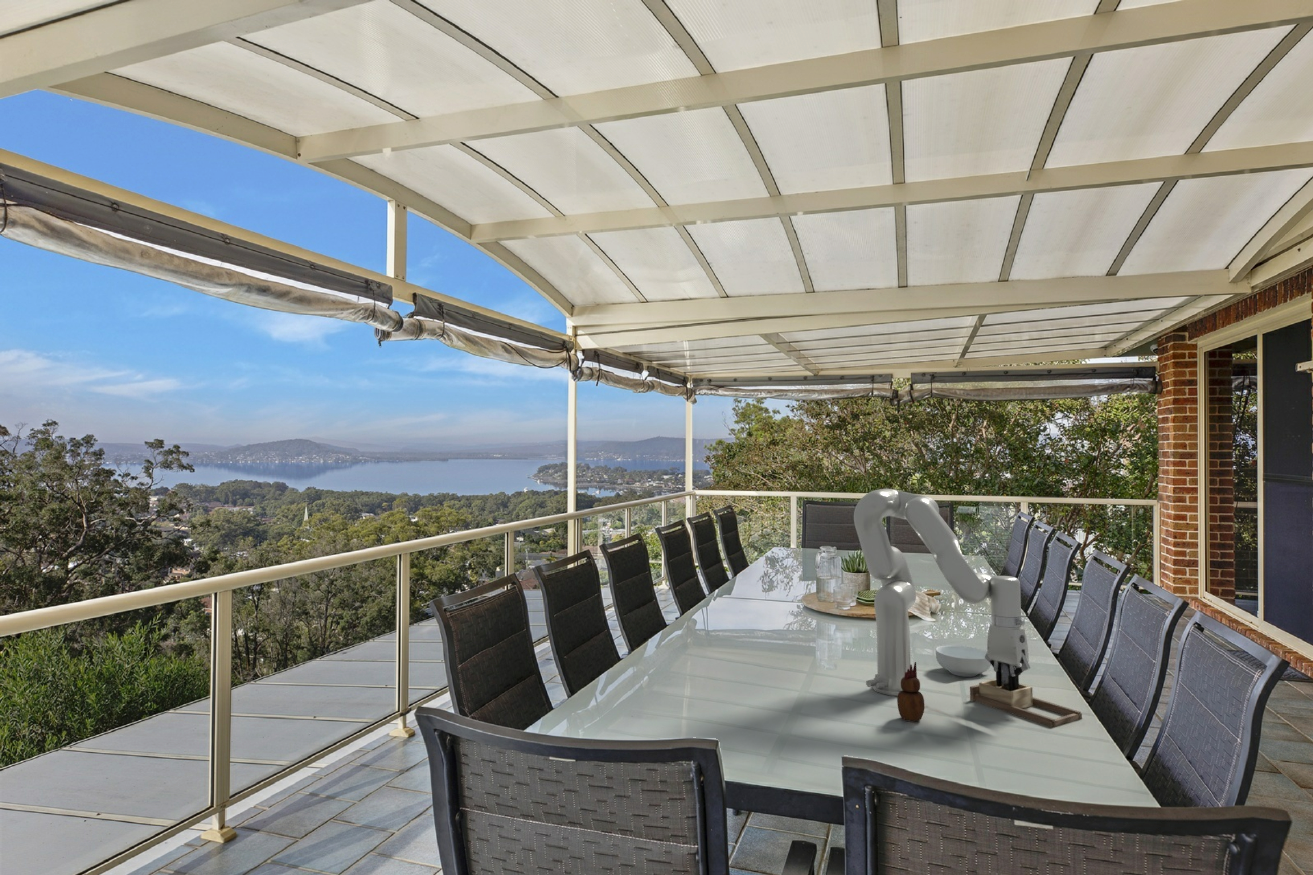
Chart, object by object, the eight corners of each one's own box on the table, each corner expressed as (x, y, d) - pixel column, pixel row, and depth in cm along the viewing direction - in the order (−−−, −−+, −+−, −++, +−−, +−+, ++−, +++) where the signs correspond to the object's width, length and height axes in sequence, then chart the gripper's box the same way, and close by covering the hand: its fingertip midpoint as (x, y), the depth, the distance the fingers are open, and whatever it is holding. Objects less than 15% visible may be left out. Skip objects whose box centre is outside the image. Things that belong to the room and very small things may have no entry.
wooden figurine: (919, 715, 199) (918, 659, 199) (927, 723, 193) (926, 665, 193) (894, 716, 198) (893, 660, 199) (902, 723, 193) (901, 666, 193)
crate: (1011, 711, 198) (1011, 692, 198) (979, 700, 207) (979, 682, 207) (1032, 705, 202) (1032, 687, 202) (1000, 695, 211) (1000, 677, 211)
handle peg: (1009, 701, 202) (1008, 664, 202) (998, 698, 205) (998, 662, 205) (1016, 699, 203) (1015, 663, 204) (1006, 696, 206) (1005, 660, 206)
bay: (1051, 732, 186) (1050, 712, 186) (970, 704, 207) (969, 686, 207) (1082, 723, 192) (1081, 703, 192) (1000, 697, 213) (1000, 679, 213)
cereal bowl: (998, 682, 227) (997, 659, 227) (941, 679, 230) (940, 657, 230) (985, 667, 243) (984, 645, 244) (932, 664, 247) (931, 643, 247)
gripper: (1042, 625, 199) (1043, 694, 199) (989, 614, 214) (990, 678, 213) (1024, 628, 196) (1026, 698, 195) (971, 617, 210) (973, 682, 209)
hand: (1007, 687), depth 204 cm, fingers closed on handle peg, 3 cm apart
